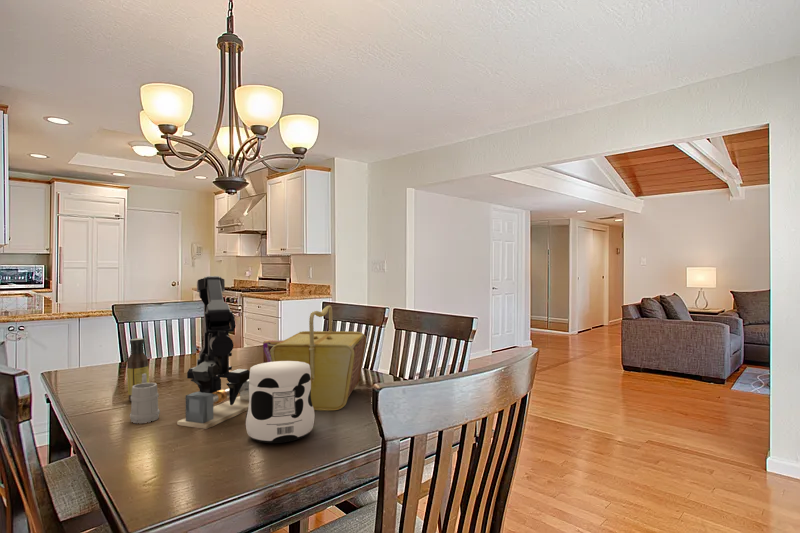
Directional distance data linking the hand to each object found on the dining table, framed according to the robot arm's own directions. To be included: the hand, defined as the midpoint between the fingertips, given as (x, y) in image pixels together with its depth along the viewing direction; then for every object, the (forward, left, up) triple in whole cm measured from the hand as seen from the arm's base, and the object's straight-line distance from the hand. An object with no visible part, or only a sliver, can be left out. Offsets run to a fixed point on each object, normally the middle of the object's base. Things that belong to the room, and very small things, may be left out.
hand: (218, 403), depth 141 cm
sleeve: (0, +17, -3) cm, 17 cm away
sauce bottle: (-37, +5, -4) cm, 38 cm away
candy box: (-8, +41, -4) cm, 42 cm away
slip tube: (0, +3, 0) cm, 3 cm away
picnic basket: (+21, +25, -4) cm, 33 cm away
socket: (0, -8, -3) cm, 8 cm away
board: (0, +6, -4) cm, 7 cm away
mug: (-19, -9, -4) cm, 21 cm away
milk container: (+27, -9, -4) cm, 29 cm away
